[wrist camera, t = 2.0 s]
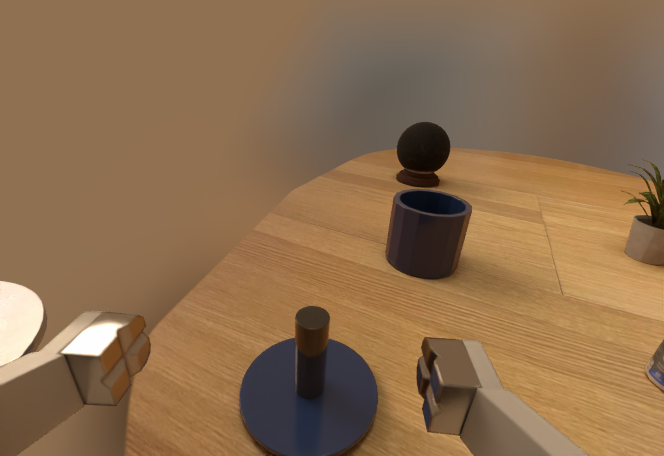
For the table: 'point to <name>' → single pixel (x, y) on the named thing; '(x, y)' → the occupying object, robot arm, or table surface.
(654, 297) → the table surface
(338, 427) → the lid
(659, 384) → the pill bottle
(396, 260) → the pot
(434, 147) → the ball on stand
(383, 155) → the table surface
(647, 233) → the house plant
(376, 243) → the table surface
